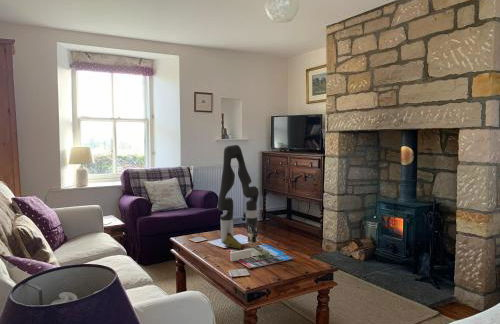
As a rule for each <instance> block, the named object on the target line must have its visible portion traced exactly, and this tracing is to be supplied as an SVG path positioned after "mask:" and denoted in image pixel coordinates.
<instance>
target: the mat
mask: <svg viewBox="0 0 500 324" xmlns="http://www.w3.org/2000/svg"><path fill="white" fill-rule="evenodd" d="M246 249H251V255H252V256H256V257H259V256H258V255H261V256H263V255H264V254H263V253H261V252H260V251H259V250H257V249H256V248H254V247H247V248H244V249H243V250H246ZM252 256H251V257H252Z"/></svg>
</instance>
